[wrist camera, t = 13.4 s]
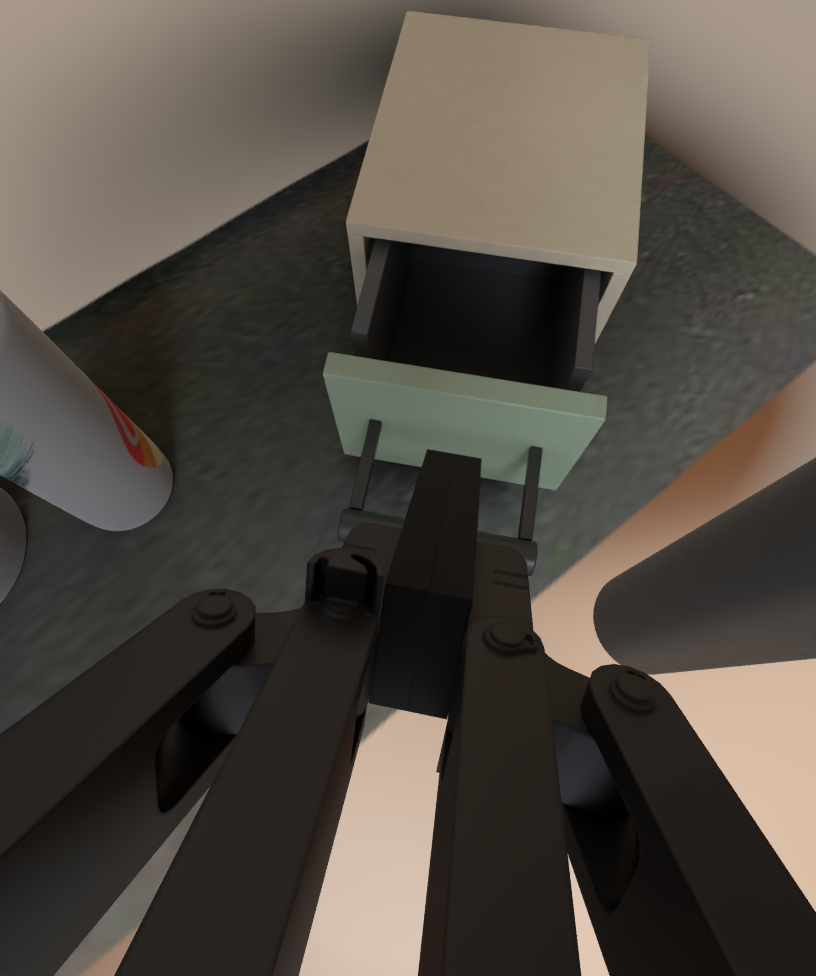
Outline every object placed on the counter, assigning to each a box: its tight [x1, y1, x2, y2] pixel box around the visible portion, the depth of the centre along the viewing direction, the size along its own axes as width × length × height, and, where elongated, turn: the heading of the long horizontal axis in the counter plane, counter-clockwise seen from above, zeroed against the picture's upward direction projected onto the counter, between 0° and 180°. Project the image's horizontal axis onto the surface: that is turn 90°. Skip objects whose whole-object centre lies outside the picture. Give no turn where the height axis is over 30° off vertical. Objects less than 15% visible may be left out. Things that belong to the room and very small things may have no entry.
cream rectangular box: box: [346, 11, 650, 343], centre depth 34 cm, size 16×14×11 cm
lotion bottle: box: [0, 291, 173, 531], centre depth 24 cm, size 6×6×20 cm
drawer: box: [323, 238, 607, 576], centre depth 30 cm, size 21×12×9 cm, turn 169°
